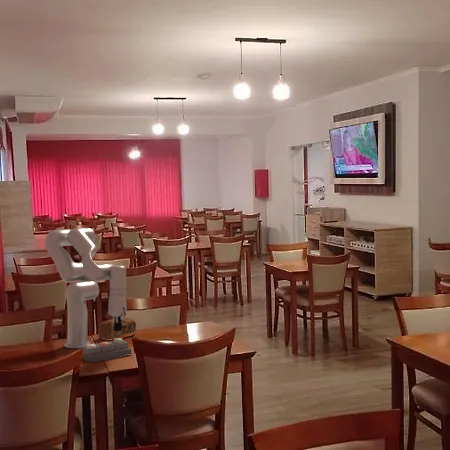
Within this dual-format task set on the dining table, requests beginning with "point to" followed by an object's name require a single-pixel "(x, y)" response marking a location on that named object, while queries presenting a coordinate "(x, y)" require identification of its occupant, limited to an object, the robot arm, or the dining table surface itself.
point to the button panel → (105, 351)
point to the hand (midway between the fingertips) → (117, 330)
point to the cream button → (91, 345)
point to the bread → (108, 328)
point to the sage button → (118, 340)
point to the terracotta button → (104, 343)
